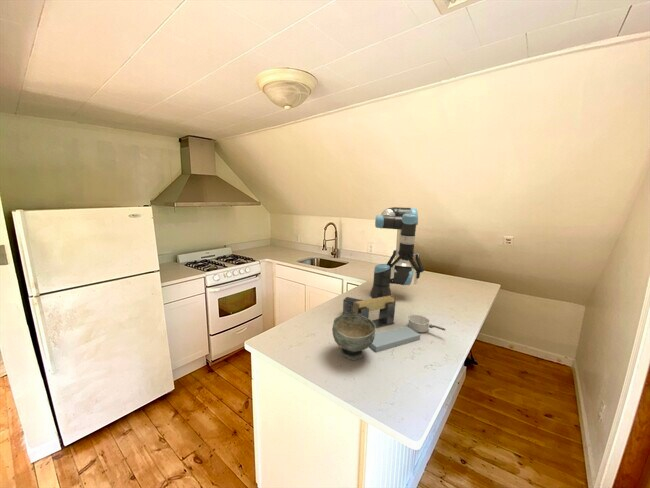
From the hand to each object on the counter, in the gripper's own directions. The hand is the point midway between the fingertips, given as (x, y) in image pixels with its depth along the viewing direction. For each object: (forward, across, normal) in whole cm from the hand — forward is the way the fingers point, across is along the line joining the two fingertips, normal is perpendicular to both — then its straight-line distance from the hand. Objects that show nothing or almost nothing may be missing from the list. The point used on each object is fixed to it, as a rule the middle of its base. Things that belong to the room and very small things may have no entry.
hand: (403, 281), depth 149 cm
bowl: (+26, -4, -43) cm, 50 cm away
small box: (+26, -25, -10) cm, 38 cm away
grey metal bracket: (+26, -10, -11) cm, 30 cm away
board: (+26, +5, -19) cm, 32 cm away
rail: (+16, -10, -11) cm, 22 cm away
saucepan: (+26, +14, +2) cm, 30 cm away
